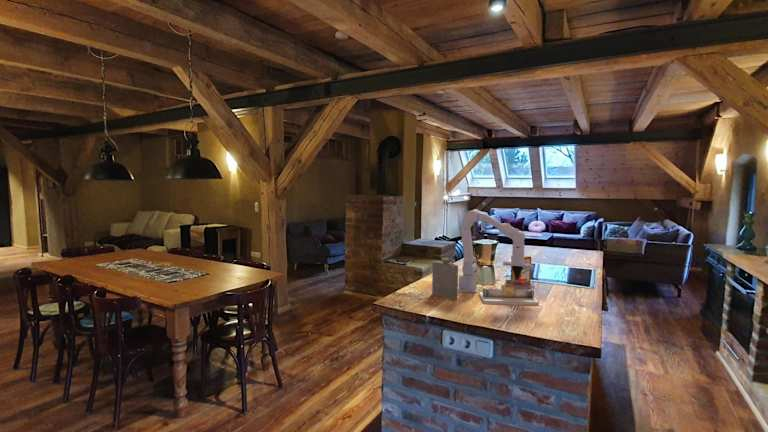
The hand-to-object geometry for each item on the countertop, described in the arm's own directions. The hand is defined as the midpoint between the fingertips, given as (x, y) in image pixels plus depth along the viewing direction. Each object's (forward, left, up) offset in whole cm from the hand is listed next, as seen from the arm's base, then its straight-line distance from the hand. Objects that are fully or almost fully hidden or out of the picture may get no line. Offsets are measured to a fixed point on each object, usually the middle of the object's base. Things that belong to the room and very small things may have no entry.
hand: (517, 280), depth 198 cm
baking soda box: (+9, +29, -9) cm, 31 cm away
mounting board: (-6, -6, -8) cm, 12 cm away
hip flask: (-37, -4, -9) cm, 38 cm away
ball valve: (-6, -6, -8) cm, 12 cm away
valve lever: (-2, -4, 0) cm, 4 cm away
